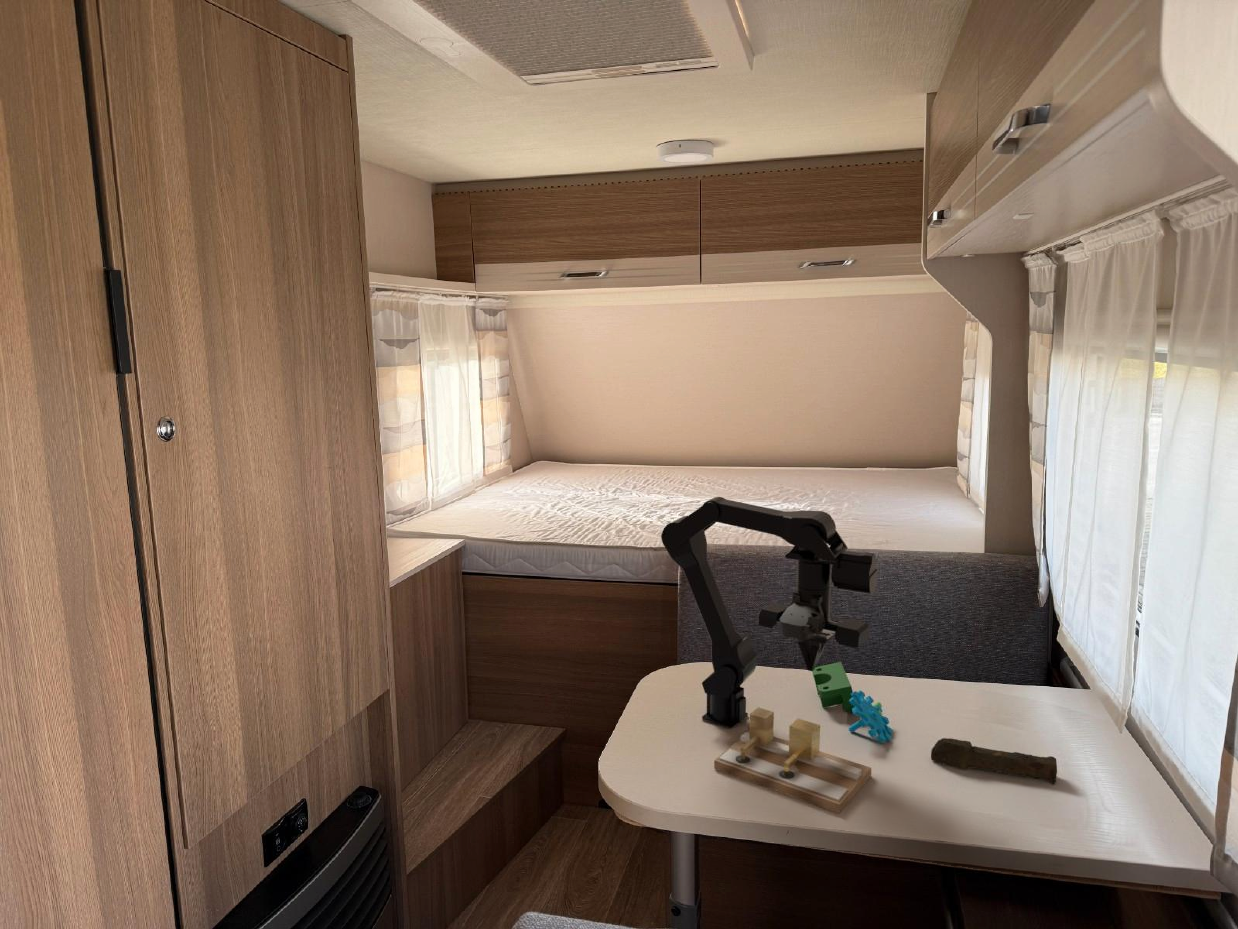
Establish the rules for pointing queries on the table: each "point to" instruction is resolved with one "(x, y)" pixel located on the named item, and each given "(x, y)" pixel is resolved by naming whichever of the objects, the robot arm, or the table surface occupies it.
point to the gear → (870, 717)
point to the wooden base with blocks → (807, 780)
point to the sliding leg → (802, 742)
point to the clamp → (833, 686)
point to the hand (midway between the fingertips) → (811, 670)
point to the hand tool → (993, 760)
